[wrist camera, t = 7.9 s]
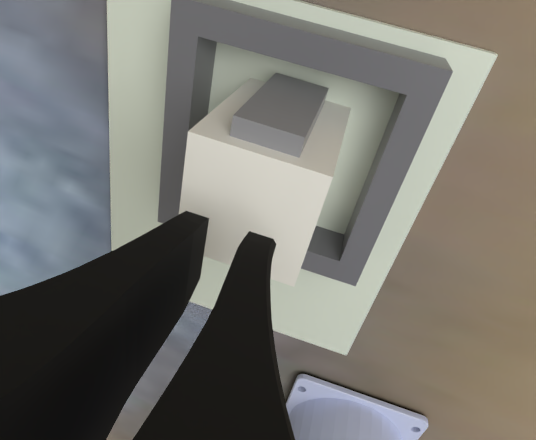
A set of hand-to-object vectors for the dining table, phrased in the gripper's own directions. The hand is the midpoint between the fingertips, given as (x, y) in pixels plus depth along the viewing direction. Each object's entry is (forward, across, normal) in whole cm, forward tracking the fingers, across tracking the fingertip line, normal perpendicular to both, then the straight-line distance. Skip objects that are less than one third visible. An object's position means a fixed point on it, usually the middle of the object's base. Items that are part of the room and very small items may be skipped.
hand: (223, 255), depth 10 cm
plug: (+8, 0, 0) cm, 8 cm away
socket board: (+8, +1, +3) cm, 9 cm away
